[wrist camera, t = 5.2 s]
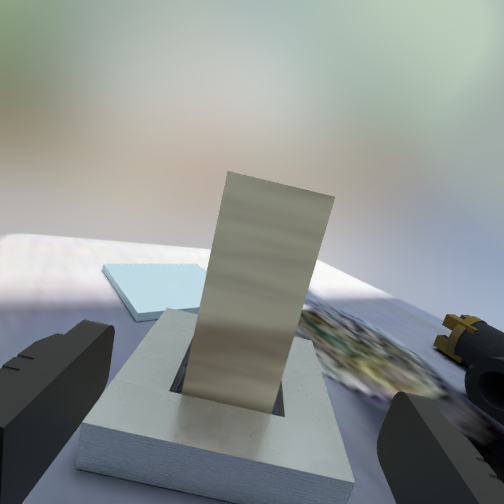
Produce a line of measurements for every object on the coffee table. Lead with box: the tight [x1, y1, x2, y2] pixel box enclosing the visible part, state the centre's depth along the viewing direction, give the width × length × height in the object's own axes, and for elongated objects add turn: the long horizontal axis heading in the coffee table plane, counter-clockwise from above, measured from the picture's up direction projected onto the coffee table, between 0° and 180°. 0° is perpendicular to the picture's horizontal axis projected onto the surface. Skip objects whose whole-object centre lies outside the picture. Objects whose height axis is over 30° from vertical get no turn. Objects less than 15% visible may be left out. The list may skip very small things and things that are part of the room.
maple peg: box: [181, 171, 335, 414], centre depth 18 cm, size 5×5×14 cm
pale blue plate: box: [103, 264, 207, 322], centre depth 34 cm, size 12×12×1 cm
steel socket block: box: [76, 308, 355, 504], centre depth 19 cm, size 12×12×2 cm
